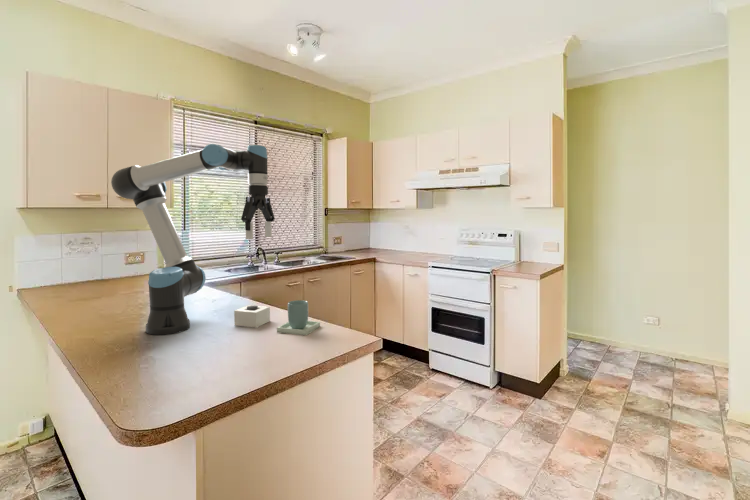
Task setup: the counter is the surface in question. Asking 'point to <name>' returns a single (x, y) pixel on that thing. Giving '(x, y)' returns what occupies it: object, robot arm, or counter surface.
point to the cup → (298, 314)
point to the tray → (304, 331)
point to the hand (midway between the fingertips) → (259, 238)
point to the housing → (252, 316)
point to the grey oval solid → (252, 308)
